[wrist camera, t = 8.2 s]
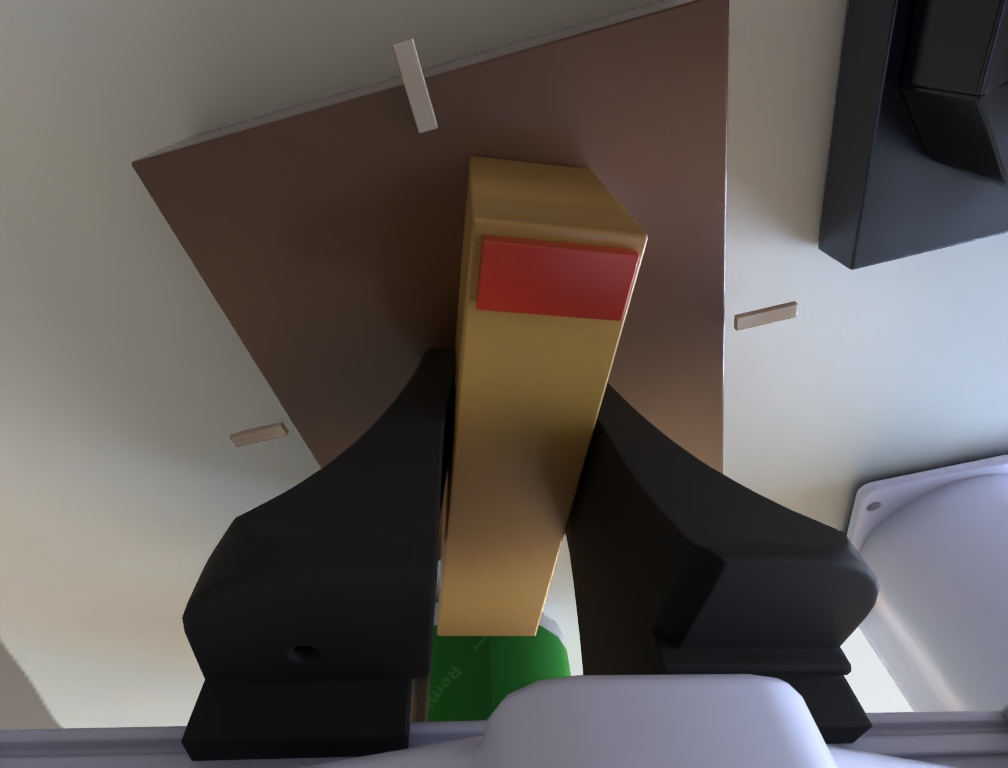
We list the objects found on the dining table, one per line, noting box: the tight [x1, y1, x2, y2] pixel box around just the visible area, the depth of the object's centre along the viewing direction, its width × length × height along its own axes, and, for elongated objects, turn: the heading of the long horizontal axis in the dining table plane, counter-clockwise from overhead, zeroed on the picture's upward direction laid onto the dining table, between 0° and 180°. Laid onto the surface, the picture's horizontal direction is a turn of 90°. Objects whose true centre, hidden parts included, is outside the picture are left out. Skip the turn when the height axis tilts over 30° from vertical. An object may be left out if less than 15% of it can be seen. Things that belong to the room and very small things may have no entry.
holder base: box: [132, 0, 798, 560], centre depth 14 cm, size 14×14×3 cm
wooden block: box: [437, 156, 648, 636], centre depth 11 cm, size 10×2×4 cm, turn 173°
